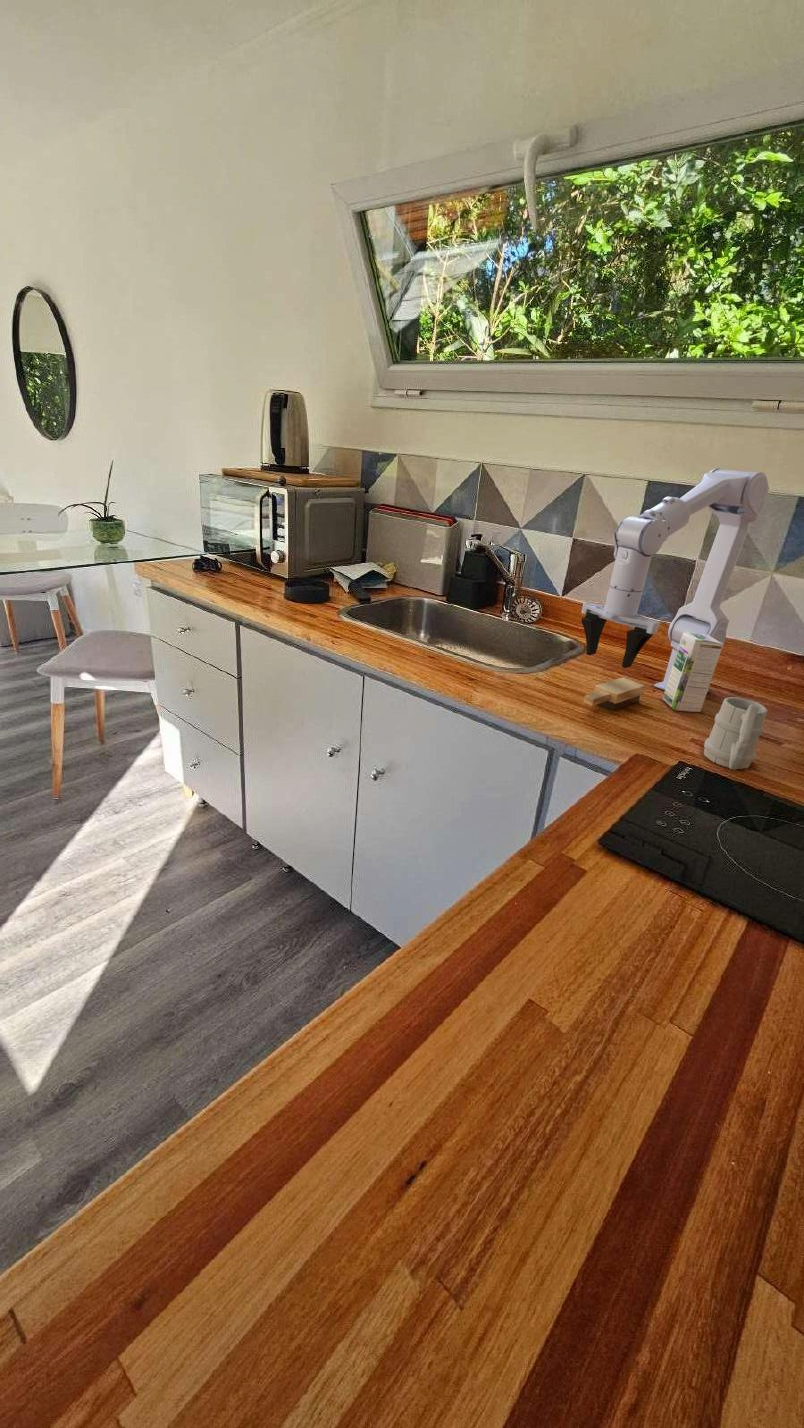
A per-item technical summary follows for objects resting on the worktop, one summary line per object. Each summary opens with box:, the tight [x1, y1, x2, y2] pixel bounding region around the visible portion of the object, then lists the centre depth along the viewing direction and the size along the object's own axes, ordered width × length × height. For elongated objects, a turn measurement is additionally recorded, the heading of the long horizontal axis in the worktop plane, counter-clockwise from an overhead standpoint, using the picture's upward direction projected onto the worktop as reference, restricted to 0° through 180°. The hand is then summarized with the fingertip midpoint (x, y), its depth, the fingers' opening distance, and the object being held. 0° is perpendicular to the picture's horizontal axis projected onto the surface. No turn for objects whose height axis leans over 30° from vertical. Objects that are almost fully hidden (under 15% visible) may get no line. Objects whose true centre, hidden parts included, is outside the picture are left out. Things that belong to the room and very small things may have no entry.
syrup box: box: [662, 633, 724, 713], centre depth 117 cm, size 6×6×14 cm
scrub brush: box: [582, 676, 646, 711], centre depth 116 cm, size 16×5×4 cm, turn 129°
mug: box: [703, 696, 768, 770], centre depth 95 cm, size 8×12×12 cm, turn 158°
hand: (608, 660), depth 111 cm, fingers open, 7 cm apart
